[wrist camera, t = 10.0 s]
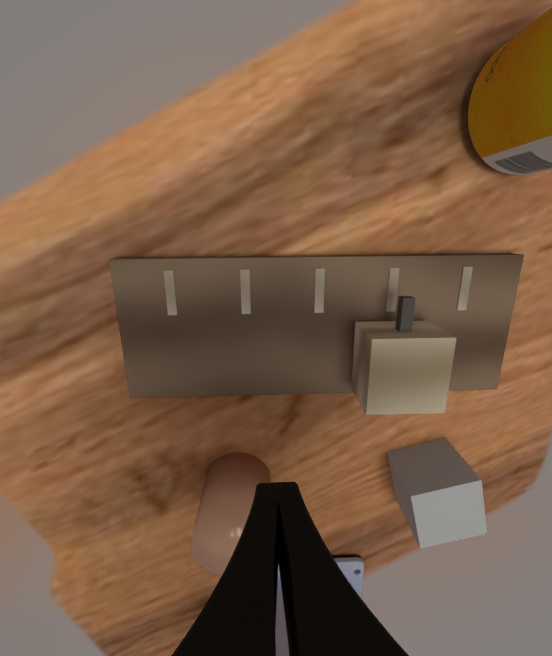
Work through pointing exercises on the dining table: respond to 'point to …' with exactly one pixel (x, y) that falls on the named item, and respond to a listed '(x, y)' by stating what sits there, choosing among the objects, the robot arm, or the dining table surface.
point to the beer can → (516, 103)
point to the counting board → (300, 318)
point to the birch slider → (402, 364)
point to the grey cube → (437, 492)
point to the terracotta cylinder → (225, 508)
